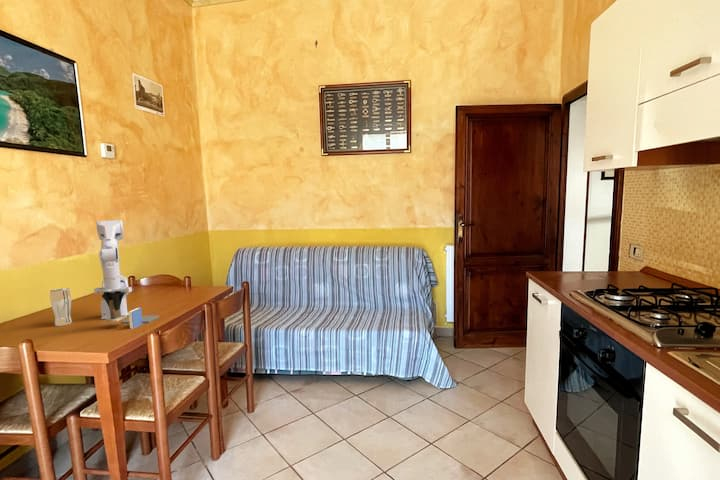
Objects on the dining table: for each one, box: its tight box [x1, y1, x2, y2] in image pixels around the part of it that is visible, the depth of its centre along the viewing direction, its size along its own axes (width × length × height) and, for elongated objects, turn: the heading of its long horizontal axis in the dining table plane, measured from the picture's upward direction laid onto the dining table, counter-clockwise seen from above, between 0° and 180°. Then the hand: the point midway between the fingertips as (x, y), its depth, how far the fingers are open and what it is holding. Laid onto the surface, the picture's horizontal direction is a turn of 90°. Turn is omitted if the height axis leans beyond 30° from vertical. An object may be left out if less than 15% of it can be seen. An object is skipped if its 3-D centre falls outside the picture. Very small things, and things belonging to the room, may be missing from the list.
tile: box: [128, 307, 144, 330], centre depth 157 cm, size 2×6×7 cm, turn 179°
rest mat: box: [120, 315, 160, 324], centre depth 165 cm, size 12×8×1 cm, turn 89°
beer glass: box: [49, 287, 73, 327], centre depth 162 cm, size 7×7×15 cm
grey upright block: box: [104, 299, 128, 323], centre depth 157 cm, size 5×6×9 cm
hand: (115, 309), depth 157 cm, fingers closed on grey upright block
